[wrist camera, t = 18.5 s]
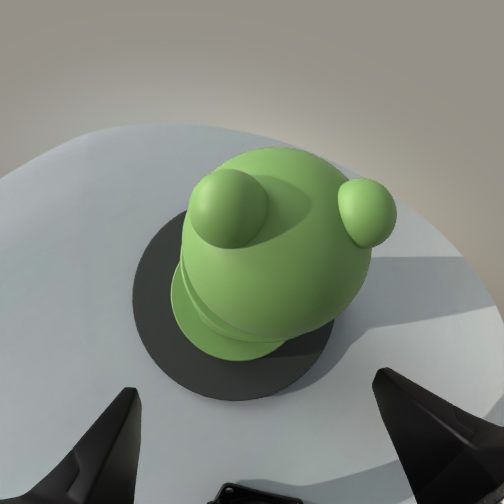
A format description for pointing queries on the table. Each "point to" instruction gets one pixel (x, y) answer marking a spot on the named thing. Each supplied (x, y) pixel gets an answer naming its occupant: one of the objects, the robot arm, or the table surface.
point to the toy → (274, 250)
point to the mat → (190, 356)
